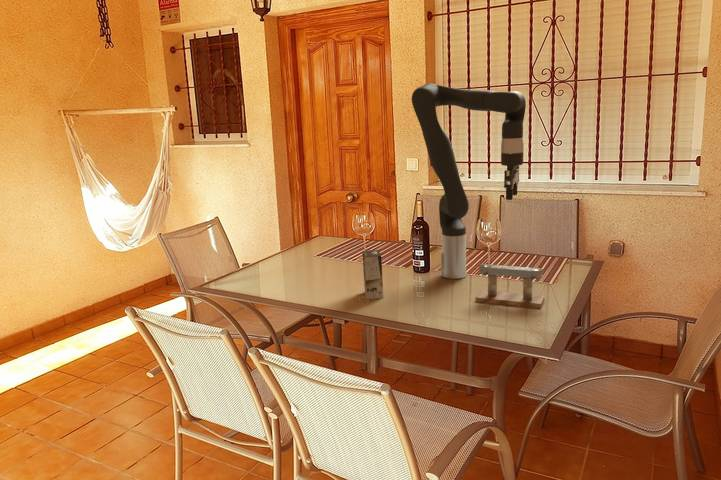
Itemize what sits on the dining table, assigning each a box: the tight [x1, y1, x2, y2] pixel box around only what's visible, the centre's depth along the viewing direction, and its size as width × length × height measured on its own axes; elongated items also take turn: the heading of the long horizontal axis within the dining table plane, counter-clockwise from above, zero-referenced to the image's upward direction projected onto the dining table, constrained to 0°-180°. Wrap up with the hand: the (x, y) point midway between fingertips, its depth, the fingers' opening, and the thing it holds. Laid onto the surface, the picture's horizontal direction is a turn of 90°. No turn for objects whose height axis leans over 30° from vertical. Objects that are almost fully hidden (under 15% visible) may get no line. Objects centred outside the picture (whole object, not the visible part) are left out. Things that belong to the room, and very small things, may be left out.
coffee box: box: [362, 249, 384, 300], centre depth 214 cm, size 9×6×16 cm
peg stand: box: [475, 274, 545, 309], centre depth 202 cm, size 22×8×10 cm, turn 65°
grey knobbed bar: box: [478, 263, 544, 280], centre depth 200 cm, size 21×4×2 cm, turn 65°
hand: (511, 197), depth 206 cm, fingers open, 8 cm apart
